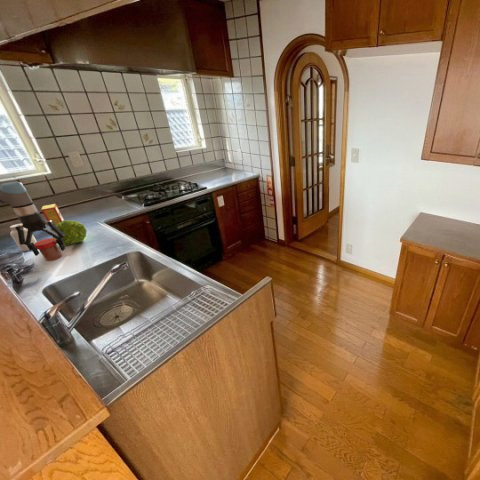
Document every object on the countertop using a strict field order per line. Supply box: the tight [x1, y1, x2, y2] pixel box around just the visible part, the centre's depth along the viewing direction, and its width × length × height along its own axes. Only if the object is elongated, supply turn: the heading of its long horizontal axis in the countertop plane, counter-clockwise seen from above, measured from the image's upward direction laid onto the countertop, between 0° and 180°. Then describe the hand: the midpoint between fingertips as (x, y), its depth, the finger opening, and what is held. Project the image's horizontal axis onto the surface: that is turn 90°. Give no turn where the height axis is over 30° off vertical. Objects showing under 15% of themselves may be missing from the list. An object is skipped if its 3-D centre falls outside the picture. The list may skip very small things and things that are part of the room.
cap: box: [34, 237, 58, 250], centre depth 138 cm, size 8×8×2 cm
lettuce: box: [51, 219, 88, 247], centre depth 160 cm, size 15×25×16 cm
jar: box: [38, 244, 64, 262], centre depth 140 cm, size 7×7×11 cm
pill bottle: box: [9, 223, 38, 252], centre depth 153 cm, size 8×8×15 cm
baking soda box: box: [40, 203, 65, 225], centre depth 179 cm, size 10×6×16 cm
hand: (50, 252), depth 140 cm, fingers open, 10 cm apart
